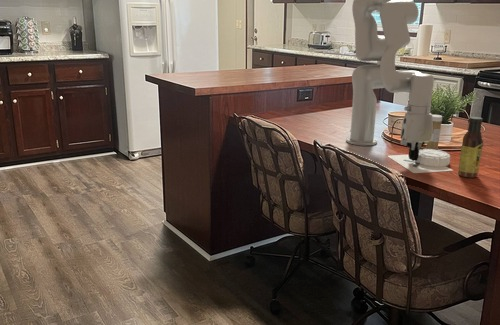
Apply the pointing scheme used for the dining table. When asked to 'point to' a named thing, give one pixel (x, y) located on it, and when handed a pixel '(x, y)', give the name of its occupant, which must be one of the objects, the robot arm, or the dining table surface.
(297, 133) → the dining table surface
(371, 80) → the robot arm
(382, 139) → the dining table surface
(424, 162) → the cheese wheel
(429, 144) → the sprinkles bottle
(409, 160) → the letter sheet
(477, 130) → the sauce bottle
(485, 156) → the dining table surface
